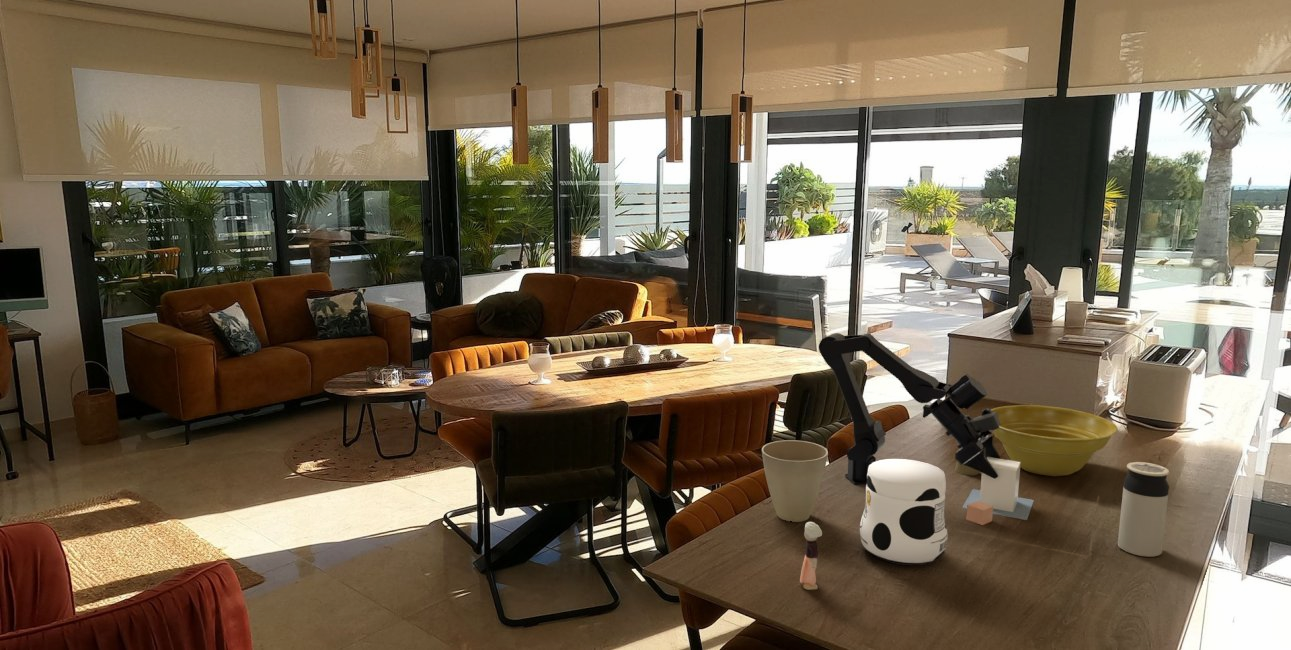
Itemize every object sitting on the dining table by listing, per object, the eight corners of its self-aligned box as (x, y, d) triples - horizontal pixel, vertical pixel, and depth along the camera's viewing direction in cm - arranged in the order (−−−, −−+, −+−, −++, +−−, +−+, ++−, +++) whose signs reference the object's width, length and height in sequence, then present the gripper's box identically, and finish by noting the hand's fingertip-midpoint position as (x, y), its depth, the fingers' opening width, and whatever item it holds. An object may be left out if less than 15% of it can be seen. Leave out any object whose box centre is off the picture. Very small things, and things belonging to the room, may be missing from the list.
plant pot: (785, 498, 200) (787, 436, 197) (838, 515, 189) (840, 450, 187) (747, 515, 189) (748, 449, 187) (800, 535, 179) (802, 465, 176)
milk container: (850, 535, 179) (854, 456, 176) (930, 536, 178) (935, 457, 175) (869, 572, 162) (874, 485, 159) (958, 573, 161) (964, 486, 158)
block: (966, 521, 186) (967, 504, 186) (975, 517, 189) (977, 500, 188) (982, 527, 183) (983, 510, 183) (992, 522, 186) (993, 506, 185)
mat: (962, 509, 193) (962, 507, 193) (972, 490, 205) (972, 489, 205) (1026, 521, 186) (1026, 520, 186) (1033, 501, 198) (1034, 500, 198)
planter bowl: (980, 479, 213) (984, 429, 210) (980, 443, 242) (983, 399, 240) (1121, 496, 201) (1127, 444, 199) (1103, 457, 230) (1108, 410, 228)
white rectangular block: (979, 505, 194) (982, 465, 192) (984, 495, 200) (987, 456, 199) (1013, 512, 190) (1016, 471, 189) (1017, 501, 197) (1020, 462, 195)
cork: (981, 477, 214) (983, 437, 212) (956, 475, 215) (959, 435, 213) (976, 469, 220) (979, 430, 218) (953, 468, 221) (955, 429, 219)
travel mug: (1161, 561, 166) (1171, 477, 163) (1116, 552, 170) (1124, 469, 167) (1161, 546, 173) (1170, 465, 170) (1118, 538, 177) (1126, 459, 174)
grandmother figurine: (794, 576, 160) (796, 515, 158) (813, 575, 160) (816, 514, 158) (805, 595, 152) (807, 531, 150) (825, 595, 153) (828, 531, 151)
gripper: (972, 409, 186) (1022, 463, 182) (986, 392, 202) (1032, 441, 198) (935, 437, 192) (982, 491, 188) (951, 418, 207) (995, 467, 203)
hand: (999, 471), depth 194 cm, fingers open, 9 cm apart
